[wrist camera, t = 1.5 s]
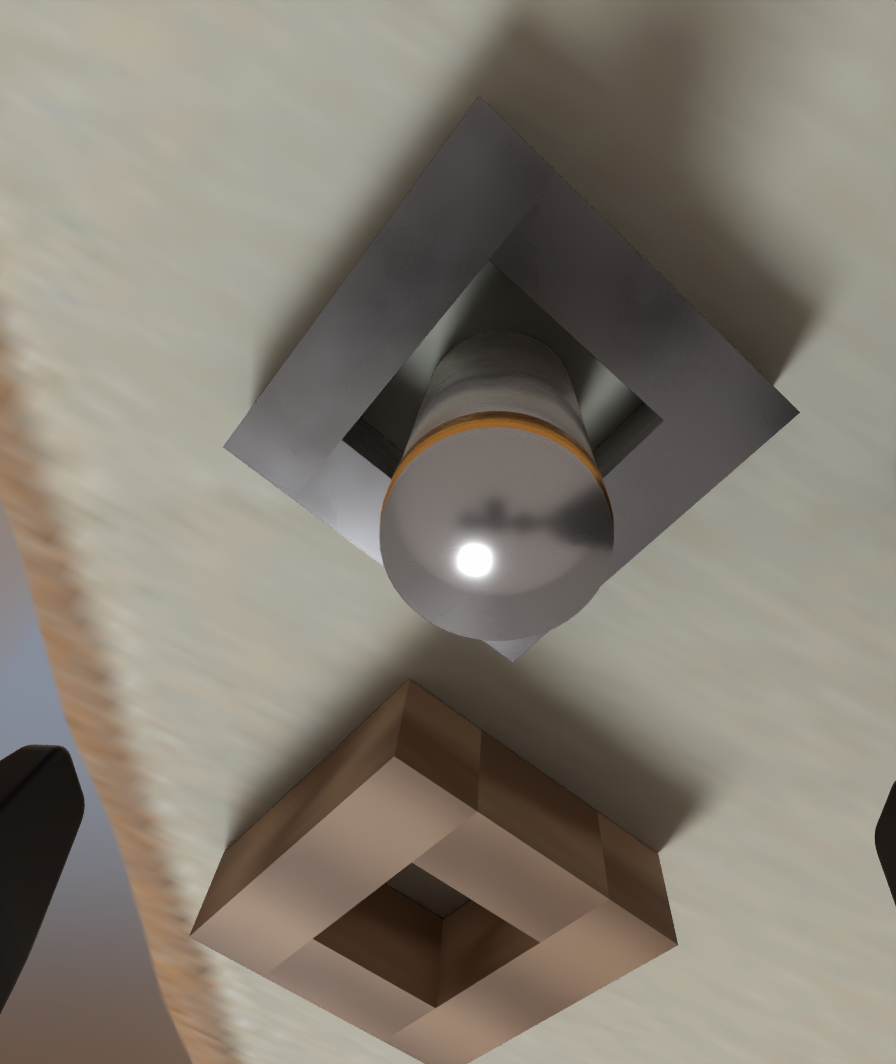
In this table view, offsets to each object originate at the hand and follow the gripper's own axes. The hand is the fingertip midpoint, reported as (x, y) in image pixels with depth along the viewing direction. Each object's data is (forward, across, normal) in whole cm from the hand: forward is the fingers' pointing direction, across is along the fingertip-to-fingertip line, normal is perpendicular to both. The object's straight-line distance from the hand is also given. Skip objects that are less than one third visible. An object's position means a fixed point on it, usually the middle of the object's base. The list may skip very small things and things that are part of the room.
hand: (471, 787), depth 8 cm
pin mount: (+13, 0, 0) cm, 13 cm away
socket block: (+13, +1, +18) cm, 22 cm away
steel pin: (+13, 0, 0) cm, 13 cm away
